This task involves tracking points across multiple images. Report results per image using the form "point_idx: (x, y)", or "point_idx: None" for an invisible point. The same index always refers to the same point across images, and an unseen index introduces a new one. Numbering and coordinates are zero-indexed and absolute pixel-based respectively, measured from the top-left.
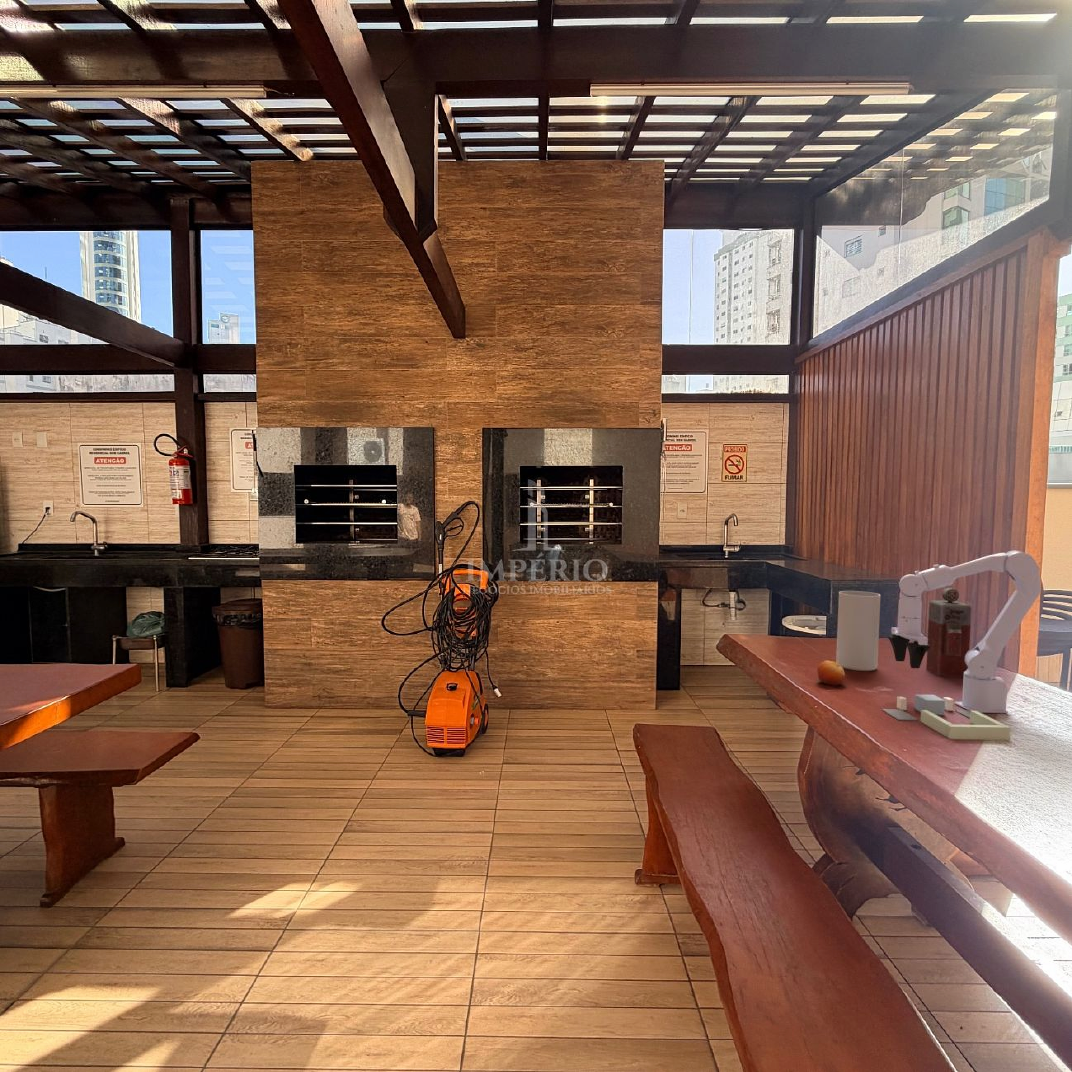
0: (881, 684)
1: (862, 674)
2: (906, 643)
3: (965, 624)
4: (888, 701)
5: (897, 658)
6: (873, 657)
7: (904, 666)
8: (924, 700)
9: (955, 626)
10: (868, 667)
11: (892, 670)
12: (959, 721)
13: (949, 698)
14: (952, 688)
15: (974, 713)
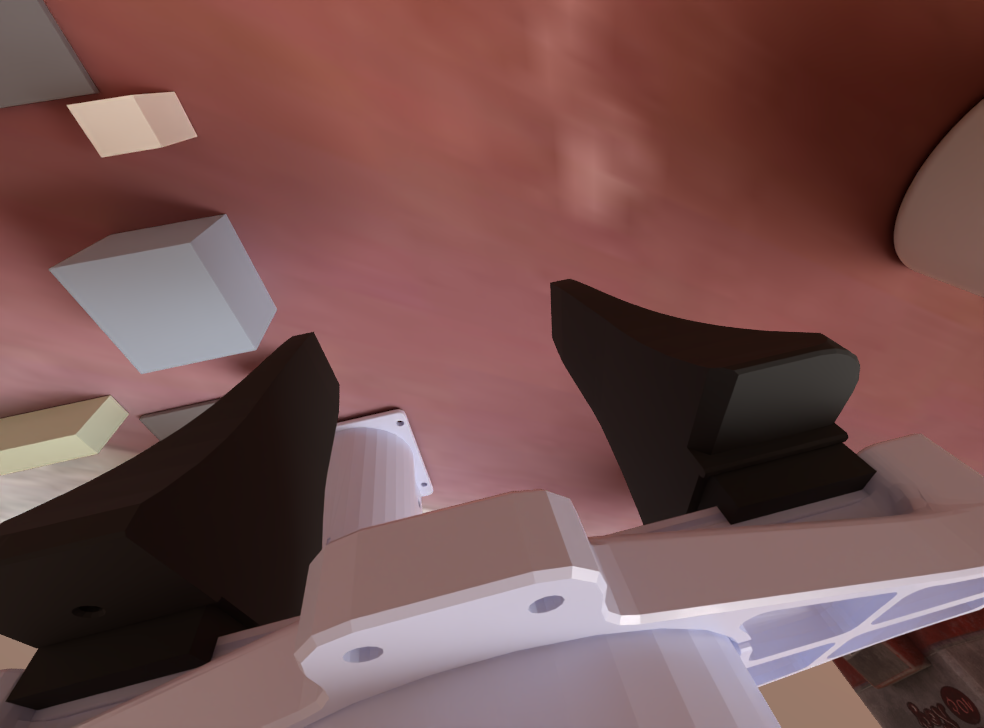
0: (681, 192)
1: (868, 151)
2: (111, 522)
3: (869, 688)
4: (321, 88)
5: (560, 298)
6: (966, 259)
7: (874, 375)
8: (72, 263)
9: (875, 667)
10: (914, 212)
11: (854, 321)
12: (90, 361)
13: None
14: (605, 442)
15: (43, 439)
